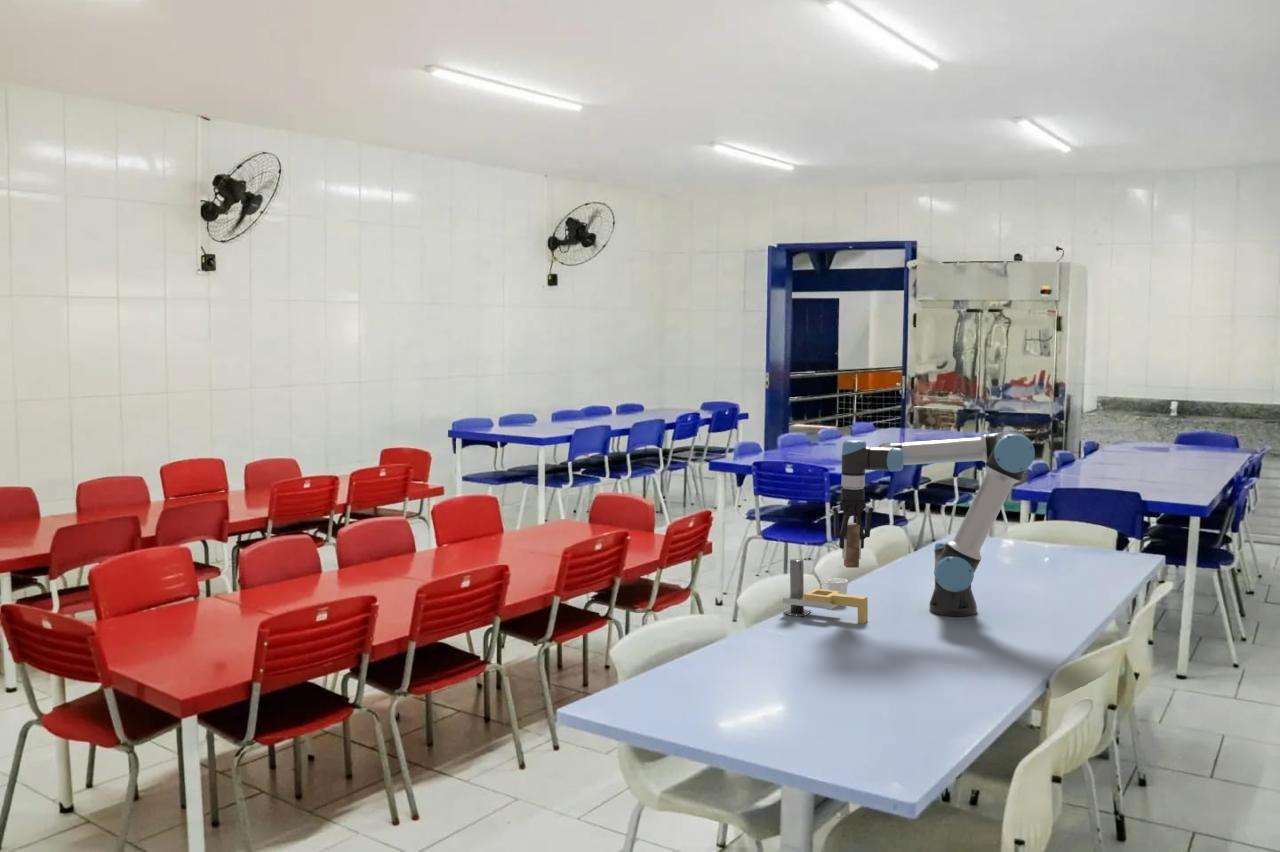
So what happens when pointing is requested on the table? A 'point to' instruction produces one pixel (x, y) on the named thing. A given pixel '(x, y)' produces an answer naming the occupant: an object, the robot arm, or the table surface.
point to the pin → (852, 545)
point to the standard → (800, 592)
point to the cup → (837, 585)
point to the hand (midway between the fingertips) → (851, 558)
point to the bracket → (840, 601)
